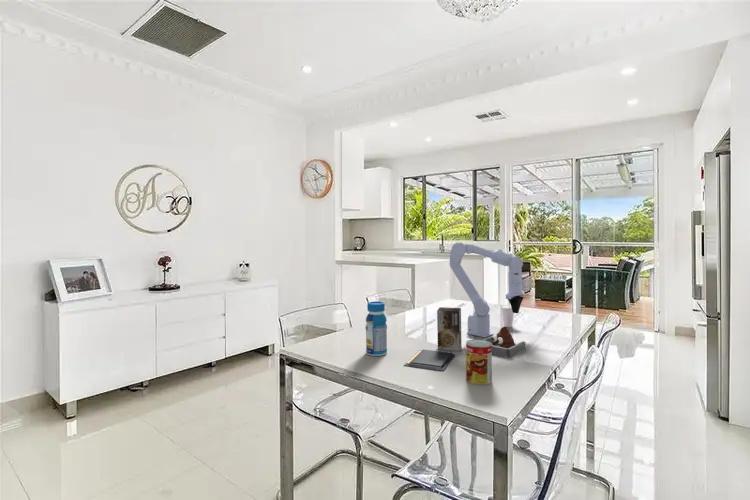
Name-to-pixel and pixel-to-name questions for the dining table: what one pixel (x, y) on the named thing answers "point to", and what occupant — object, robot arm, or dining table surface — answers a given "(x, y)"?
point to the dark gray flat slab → (430, 360)
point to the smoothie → (507, 315)
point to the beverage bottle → (376, 329)
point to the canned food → (479, 362)
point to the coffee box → (449, 328)
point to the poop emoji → (503, 338)
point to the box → (505, 351)
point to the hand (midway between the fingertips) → (515, 312)
